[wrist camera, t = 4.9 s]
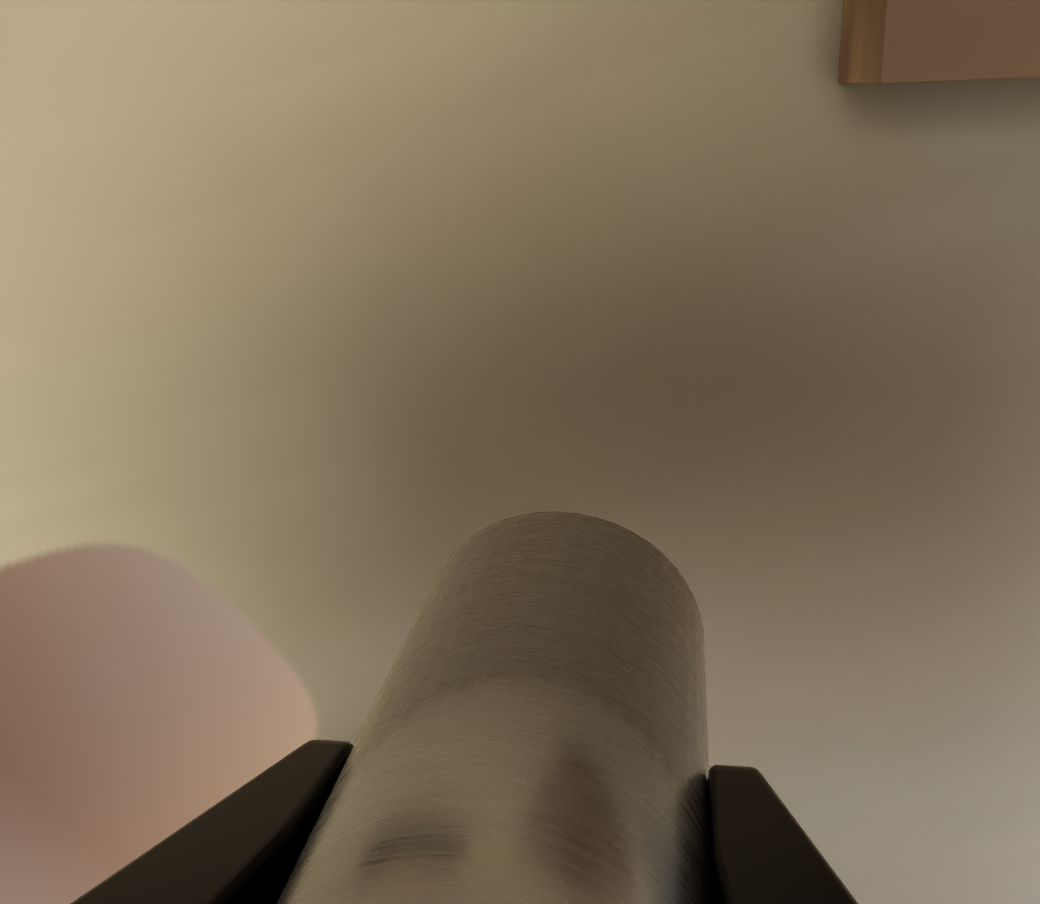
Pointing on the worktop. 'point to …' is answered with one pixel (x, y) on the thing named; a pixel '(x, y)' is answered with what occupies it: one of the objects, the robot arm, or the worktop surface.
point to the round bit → (530, 735)
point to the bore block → (938, 40)
